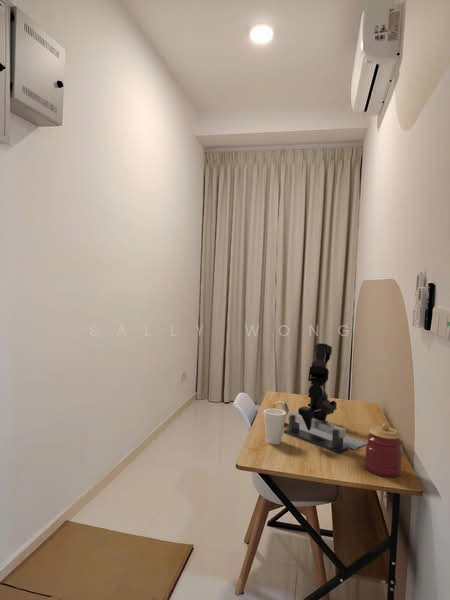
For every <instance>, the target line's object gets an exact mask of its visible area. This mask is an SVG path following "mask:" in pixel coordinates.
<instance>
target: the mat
mask: <svg viewBox="0 0 450 600" xmlns="http://www.w3.org/2000/svg"><path fill="white" fill-rule="evenodd" d="M299 429H300V430H302V431H305V432H308V433H311V434H313V435H316V436H319V437H322V438H324V439H327V440H330V441H332V437H333V435H331V434H328V433H326V432H323V431H320V430H317V429H314V428H311V429H310V431H309V430H308V429H307V427H306V426H305V425H303V424H299ZM366 443H367V442H365V441H361V440H360V439H359V440H358V439H356V438H353V437H350V436H348V435H345V437H343V445H344V446H347V447H348V449H350V450H352V449H353V450H354V451H355V450H357V449H360V448H361V447H364V446H366ZM359 447H360V448H359Z"/></svg>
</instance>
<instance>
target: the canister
mask: <svg viewBox="0 0 450 600" xmlns="http://www.w3.org/2000/svg"><path fill="white" fill-rule="evenodd" d="M368 432H369V433H368V434H367V435H366V436H365V437H366V439H367V442H365V443H366V445H365V446H366V447H365V458H364V465H365V469H366V470H367V471H368V472H370V473H371V474H374V475H376V476H380V477H385V478H396V477H399V476H400V475H401V473H402V470H403V467H402V464H403V453H404V451H403V448H402V447H403V445H404V440H403V439H402V438H401V437H402V434H401V433H400V432H398V430H397V429H395V428H393V427H390V425H389V424H388V423H385V422H384V423H382V425H376V426H373V427H371V428H370V429H368Z"/></svg>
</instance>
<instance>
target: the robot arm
mask: <svg viewBox="0 0 450 600" xmlns="http://www.w3.org/2000/svg"><path fill="white" fill-rule="evenodd" d="M313 347H314V349H313V353H314V355H315V360H314V361H312V362H311V366H309V370H308V371H309V372H308V380H307V381H308V382H311V383H310V386H309V388H308V398H310V399H309V401H310V402H309V403H308V404H307V406H300V407H299V408H297V409H298V410H297V413H298V414H300V415H301V416H302V418H303V420H304V422H305V424H306V427H307V429H308V430H309V431H310V429H311V423H312V419H313V418H314V419H317V420H320V421H323V422H327V423H329V421H327V416H328V415H329V416H330V415H332V414H334V413H335V410H337V409H338V408H337V401H336V400H331V401H330V400H329V395H328V393H327V391H326V385H327V381H329V375H330V372H329V368H327V367H328V366H327V365H328V363H329V360H331V356H332V355H333V346H331V345H329V344H327V343H320V342H319V343H317V344H314V346H313Z"/></svg>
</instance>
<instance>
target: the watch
mask: <svg viewBox="0 0 450 600" xmlns="http://www.w3.org/2000/svg"><path fill="white" fill-rule="evenodd" d="M277 404H281V405H282V408H283V409H282V410H283V411H285V412H286V417H287V416H288V413H289V412H290V409H289V407H288V404H287V403H286V402H284V400H283V401H282V400H278V401H276V402H274V404H273V405H272V409H276V408H275V405H277ZM285 423H286V421H285V422H284V424H285Z"/></svg>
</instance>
